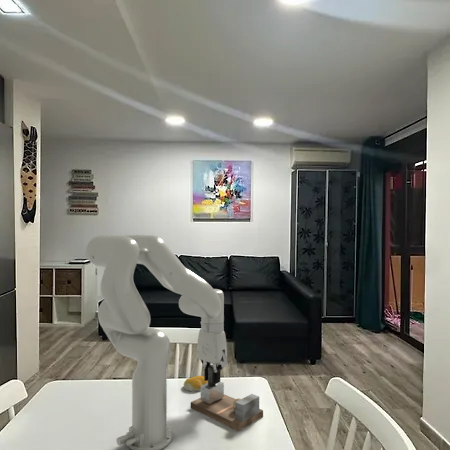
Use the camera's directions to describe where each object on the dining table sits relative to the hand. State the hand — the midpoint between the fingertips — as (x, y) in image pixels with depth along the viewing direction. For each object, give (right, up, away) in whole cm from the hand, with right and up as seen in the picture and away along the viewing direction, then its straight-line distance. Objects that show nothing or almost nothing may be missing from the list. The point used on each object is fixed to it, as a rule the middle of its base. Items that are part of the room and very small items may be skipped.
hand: (212, 380), depth 134 cm
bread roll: (-6, -9, +15) cm, 19 cm away
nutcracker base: (+5, -9, -4) cm, 11 cm away
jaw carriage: (0, -6, 0) cm, 6 cm away
